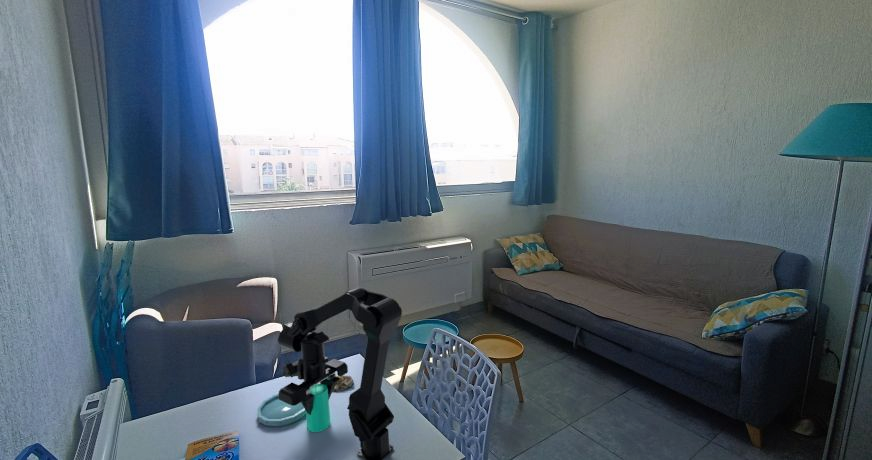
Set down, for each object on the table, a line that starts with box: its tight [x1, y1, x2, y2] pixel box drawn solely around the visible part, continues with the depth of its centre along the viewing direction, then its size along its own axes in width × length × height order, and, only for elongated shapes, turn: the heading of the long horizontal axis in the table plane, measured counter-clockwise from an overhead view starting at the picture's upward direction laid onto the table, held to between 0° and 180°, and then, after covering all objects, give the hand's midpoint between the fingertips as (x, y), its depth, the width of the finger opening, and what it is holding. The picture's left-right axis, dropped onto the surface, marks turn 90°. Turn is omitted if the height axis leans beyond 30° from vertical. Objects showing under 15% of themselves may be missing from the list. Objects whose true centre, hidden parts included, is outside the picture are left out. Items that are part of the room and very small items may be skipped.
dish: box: [256, 393, 306, 427], centre depth 113 cm, size 14×14×2 cm
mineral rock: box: [333, 375, 354, 392], centre depth 126 cm, size 11×4×8 cm
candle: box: [305, 383, 331, 433], centre depth 106 cm, size 6×6×12 cm
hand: (317, 409), depth 106 cm, fingers closed on candle, 5 cm apart
